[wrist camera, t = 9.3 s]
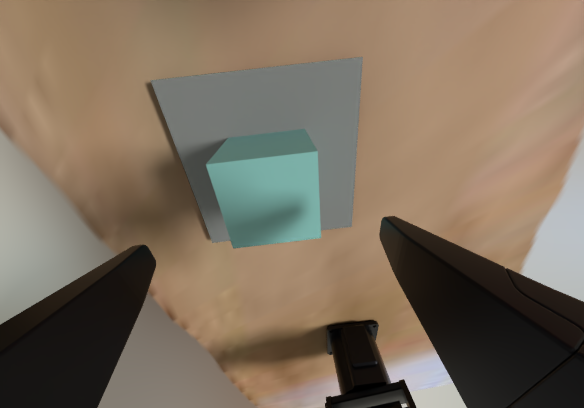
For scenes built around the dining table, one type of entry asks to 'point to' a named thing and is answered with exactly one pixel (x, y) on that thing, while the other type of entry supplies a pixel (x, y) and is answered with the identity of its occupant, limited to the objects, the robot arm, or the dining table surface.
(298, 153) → the teal block
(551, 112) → the dining table surface
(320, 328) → the dining table surface
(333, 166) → the gray mat
